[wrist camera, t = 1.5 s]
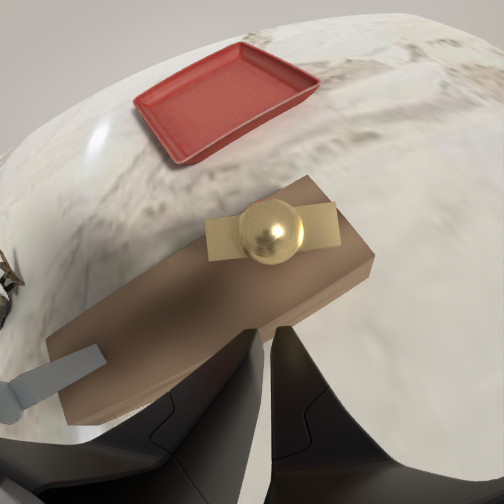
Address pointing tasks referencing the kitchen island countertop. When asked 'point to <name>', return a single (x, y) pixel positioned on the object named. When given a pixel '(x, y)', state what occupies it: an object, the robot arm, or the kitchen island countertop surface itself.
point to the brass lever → (272, 231)
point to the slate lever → (45, 382)
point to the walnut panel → (198, 314)
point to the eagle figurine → (2, 290)
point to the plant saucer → (221, 100)
